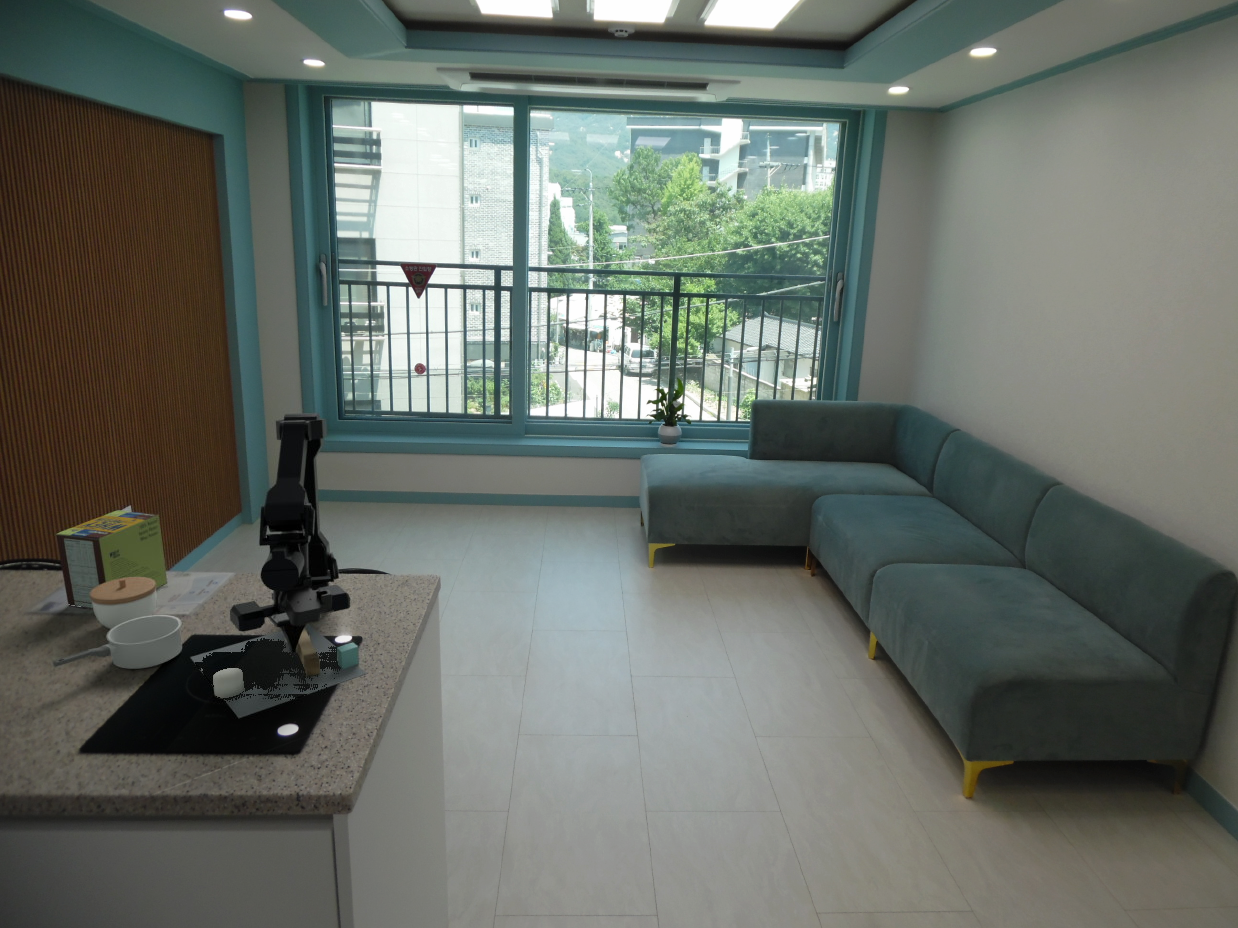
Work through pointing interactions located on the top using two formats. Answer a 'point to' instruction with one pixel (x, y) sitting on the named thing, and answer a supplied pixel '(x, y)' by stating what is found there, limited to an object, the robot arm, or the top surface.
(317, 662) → the wooden block
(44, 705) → the top surface
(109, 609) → the lidded jar
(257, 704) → the mat
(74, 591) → the protein box
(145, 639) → the saucepan
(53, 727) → the top surface
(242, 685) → the door stop
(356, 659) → the teal rectangular block
